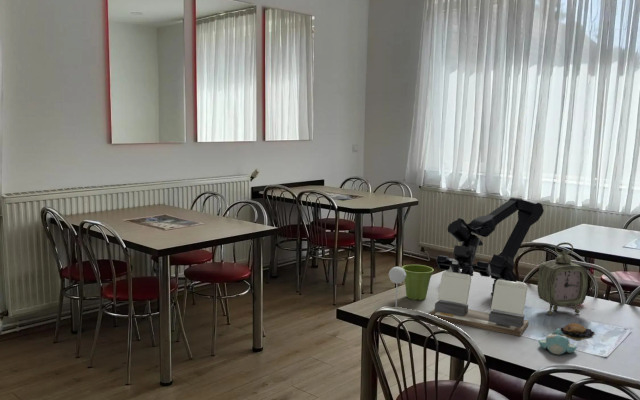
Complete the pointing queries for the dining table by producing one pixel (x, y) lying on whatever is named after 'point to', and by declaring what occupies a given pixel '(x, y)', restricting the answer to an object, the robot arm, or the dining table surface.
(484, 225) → the robot arm
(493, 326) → the switch board
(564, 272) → the tabletop clock
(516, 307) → the toggle
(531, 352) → the dining table surface
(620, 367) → the dining table surface
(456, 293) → the toggle
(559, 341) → the stuffed animal
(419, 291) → the plant pot
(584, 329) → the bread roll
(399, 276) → the lollipop
